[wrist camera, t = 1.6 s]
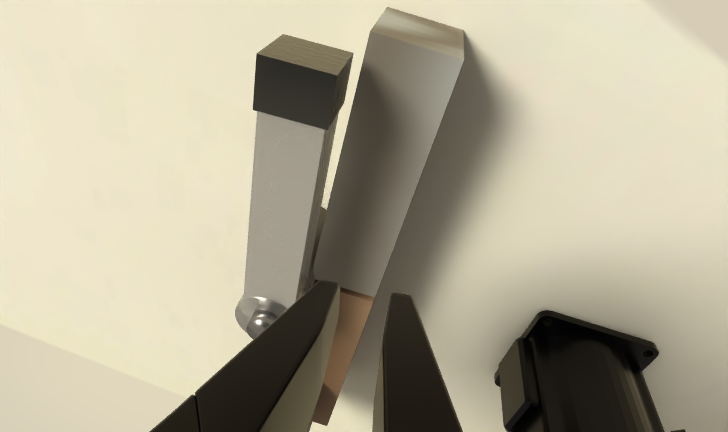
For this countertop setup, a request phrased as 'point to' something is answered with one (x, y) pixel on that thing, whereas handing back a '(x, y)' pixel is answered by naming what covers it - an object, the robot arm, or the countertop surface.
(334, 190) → the wooden block clamp
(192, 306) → the countertop surface
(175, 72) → the countertop surface
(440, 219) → the countertop surface
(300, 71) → the bar
